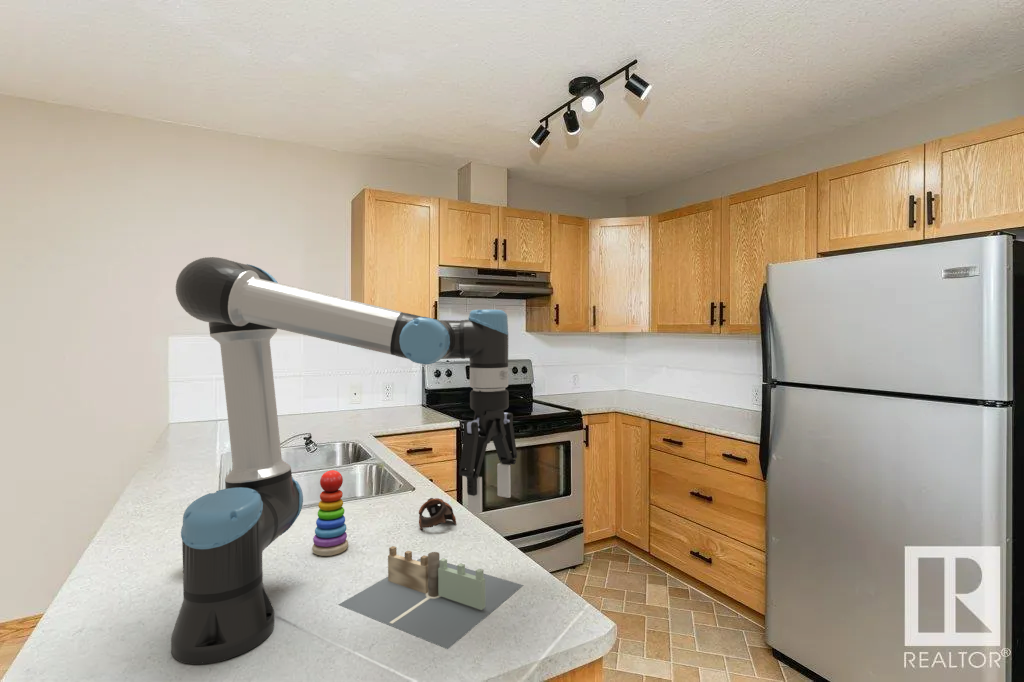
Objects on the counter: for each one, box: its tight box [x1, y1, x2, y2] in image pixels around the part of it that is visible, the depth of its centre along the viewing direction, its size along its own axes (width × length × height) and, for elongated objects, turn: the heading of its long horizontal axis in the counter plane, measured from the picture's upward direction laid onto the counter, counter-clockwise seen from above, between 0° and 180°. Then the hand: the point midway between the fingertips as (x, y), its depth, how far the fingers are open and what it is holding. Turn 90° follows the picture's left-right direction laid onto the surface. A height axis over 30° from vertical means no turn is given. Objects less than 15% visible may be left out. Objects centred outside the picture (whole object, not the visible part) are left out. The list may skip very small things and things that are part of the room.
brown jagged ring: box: [418, 497, 457, 530], centre depth 135 cm, size 12×10×8 cm
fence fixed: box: [387, 545, 441, 597], centre depth 101 cm, size 13×2×8 cm, turn 58°
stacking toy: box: [311, 469, 349, 557], centre depth 120 cm, size 8×8×19 cm
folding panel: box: [438, 558, 485, 610], centre depth 95 cm, size 10×1×7 cm, turn 58°
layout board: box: [337, 557, 524, 650], centre depth 98 cm, size 24×26×1 cm
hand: (490, 503), depth 100 cm, fingers open, 9 cm apart
